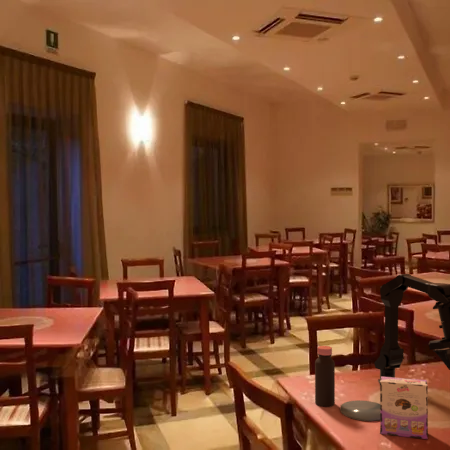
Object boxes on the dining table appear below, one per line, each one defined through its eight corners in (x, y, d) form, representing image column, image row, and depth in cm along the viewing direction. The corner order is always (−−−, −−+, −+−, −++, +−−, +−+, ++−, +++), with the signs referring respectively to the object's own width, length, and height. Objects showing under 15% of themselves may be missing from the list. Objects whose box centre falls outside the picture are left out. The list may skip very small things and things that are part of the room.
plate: (339, 402, 190) (339, 399, 190) (385, 404, 188) (385, 401, 188) (341, 419, 174) (341, 416, 174) (392, 422, 172) (392, 419, 172)
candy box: (427, 432, 164) (427, 379, 164) (428, 440, 159) (428, 385, 158) (380, 426, 169) (380, 375, 168) (379, 434, 163) (379, 380, 163)
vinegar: (323, 408, 184) (323, 350, 184) (311, 402, 190) (311, 346, 190) (338, 405, 188) (338, 348, 187) (326, 399, 194) (326, 344, 193)
